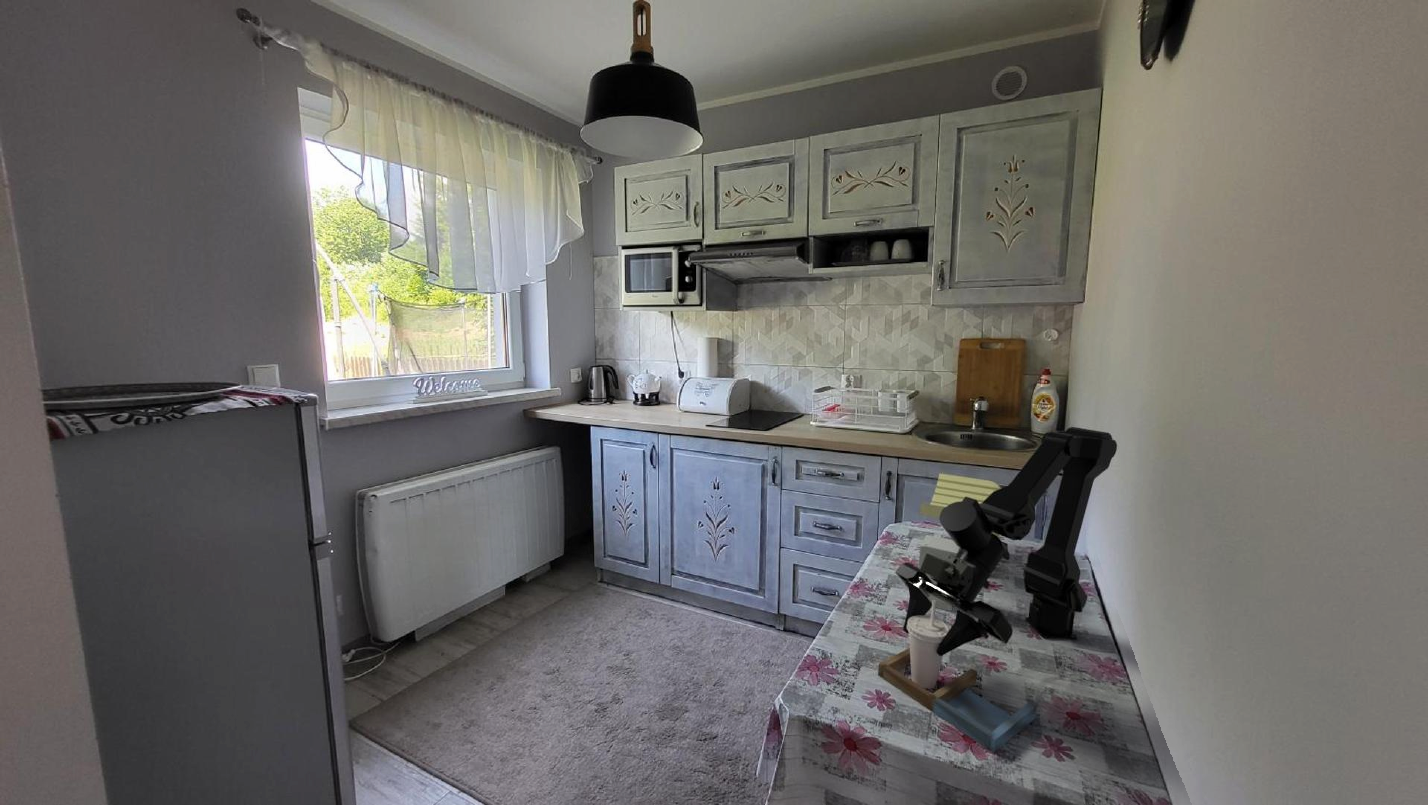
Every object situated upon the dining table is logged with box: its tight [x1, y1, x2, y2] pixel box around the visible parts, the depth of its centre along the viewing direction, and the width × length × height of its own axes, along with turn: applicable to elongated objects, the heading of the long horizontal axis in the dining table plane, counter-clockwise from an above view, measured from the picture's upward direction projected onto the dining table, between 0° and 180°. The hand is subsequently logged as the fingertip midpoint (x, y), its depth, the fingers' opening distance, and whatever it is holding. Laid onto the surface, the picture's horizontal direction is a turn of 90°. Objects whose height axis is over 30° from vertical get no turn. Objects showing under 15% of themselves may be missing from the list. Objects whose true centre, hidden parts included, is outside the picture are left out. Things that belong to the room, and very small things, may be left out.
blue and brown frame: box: [877, 647, 1038, 754], centre depth 81 cm, size 12×19×2 cm, turn 35°
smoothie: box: [907, 600, 951, 690], centre depth 84 cm, size 6×6×14 cm
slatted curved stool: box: [919, 473, 1002, 539], centre depth 129 cm, size 30×16×18 cm, turn 149°
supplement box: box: [917, 534, 960, 612], centre depth 110 cm, size 7×7×13 cm
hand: (921, 642), depth 83 cm, fingers closed on smoothie, 6 cm apart
